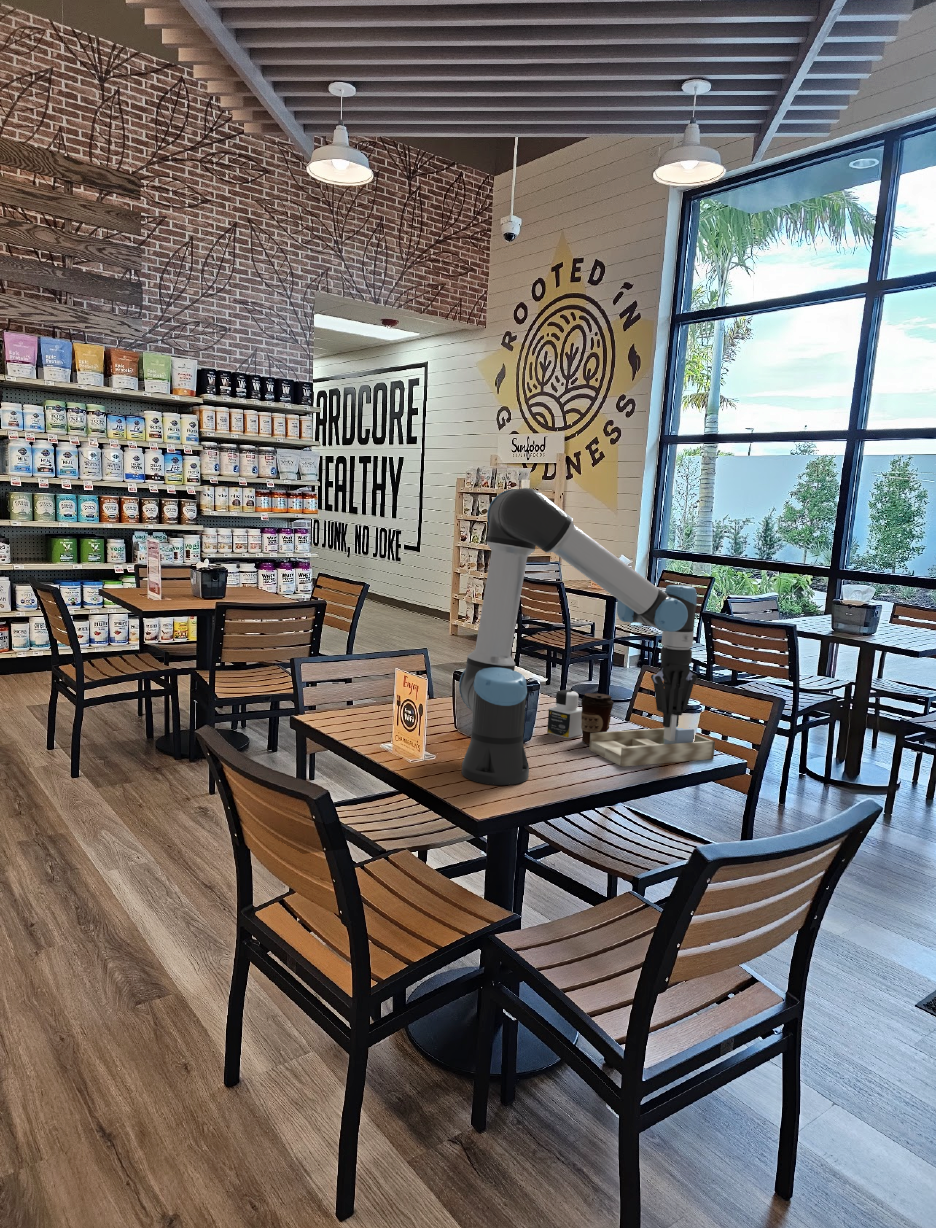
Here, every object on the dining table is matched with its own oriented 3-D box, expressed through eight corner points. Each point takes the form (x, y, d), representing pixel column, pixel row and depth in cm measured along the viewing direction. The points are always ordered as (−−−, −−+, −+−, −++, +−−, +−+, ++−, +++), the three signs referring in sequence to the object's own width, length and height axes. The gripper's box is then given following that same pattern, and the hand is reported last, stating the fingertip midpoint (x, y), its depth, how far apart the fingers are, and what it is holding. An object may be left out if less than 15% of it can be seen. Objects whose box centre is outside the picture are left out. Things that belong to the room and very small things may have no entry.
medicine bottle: (546, 733, 218) (549, 690, 217) (561, 729, 223) (564, 687, 222) (568, 739, 213) (571, 695, 212) (582, 734, 219) (585, 692, 217)
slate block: (676, 749, 199) (678, 730, 198) (664, 744, 203) (665, 725, 203) (692, 748, 201) (694, 729, 200) (679, 743, 205) (681, 724, 205)
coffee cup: (600, 749, 205) (603, 700, 203) (572, 742, 210) (575, 694, 208) (615, 743, 212) (619, 695, 210) (587, 737, 216) (591, 690, 215)
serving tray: (622, 766, 190) (623, 748, 190) (589, 750, 204) (590, 732, 203) (713, 758, 202) (715, 741, 201) (676, 743, 215) (678, 727, 214)
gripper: (665, 650, 192) (657, 745, 194) (707, 649, 197) (699, 741, 200) (646, 645, 199) (639, 737, 201) (687, 644, 204) (680, 734, 206)
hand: (669, 739), depth 200 cm, fingers closed
